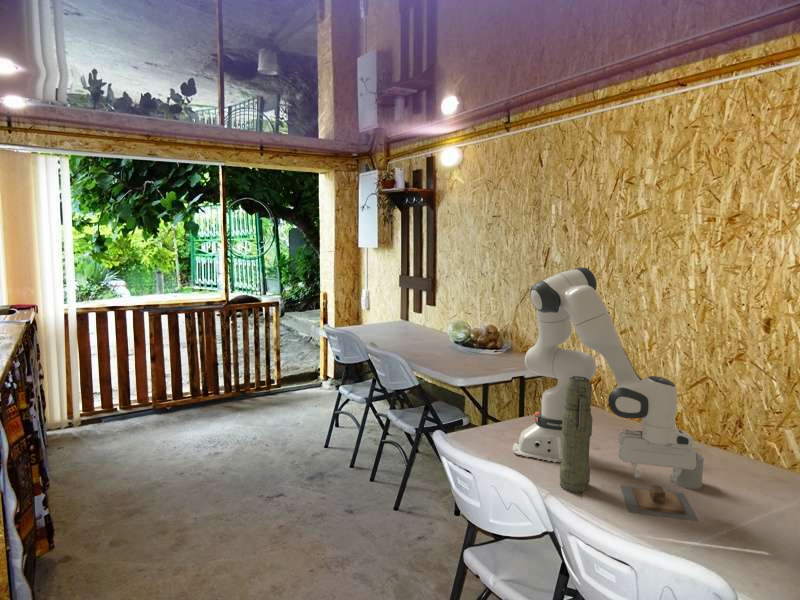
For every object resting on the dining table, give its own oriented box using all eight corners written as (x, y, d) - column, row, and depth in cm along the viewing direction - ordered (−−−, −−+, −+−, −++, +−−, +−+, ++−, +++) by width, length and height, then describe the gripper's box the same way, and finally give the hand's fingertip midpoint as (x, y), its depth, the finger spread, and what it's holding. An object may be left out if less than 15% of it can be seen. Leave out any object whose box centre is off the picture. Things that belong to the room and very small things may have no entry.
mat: (628, 514, 153) (629, 512, 152) (619, 487, 170) (620, 485, 170) (699, 523, 148) (699, 521, 148) (682, 494, 165) (682, 492, 165)
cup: (705, 492, 167) (707, 461, 166) (676, 489, 169) (678, 458, 168) (696, 481, 176) (698, 451, 175) (668, 478, 177) (670, 449, 176)
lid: (638, 508, 155) (639, 495, 154) (631, 490, 166) (632, 478, 166) (684, 514, 152) (685, 500, 151) (674, 495, 163) (675, 483, 163)
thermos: (567, 496, 163) (572, 382, 160) (553, 479, 175) (558, 373, 172) (595, 495, 164) (601, 382, 161) (580, 479, 176) (585, 373, 172)
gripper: (620, 432, 156) (617, 478, 157) (699, 440, 150) (696, 488, 151) (618, 425, 162) (615, 470, 163) (694, 433, 156) (691, 480, 157)
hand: (655, 479), depth 157 cm, fingers open, 8 cm apart
